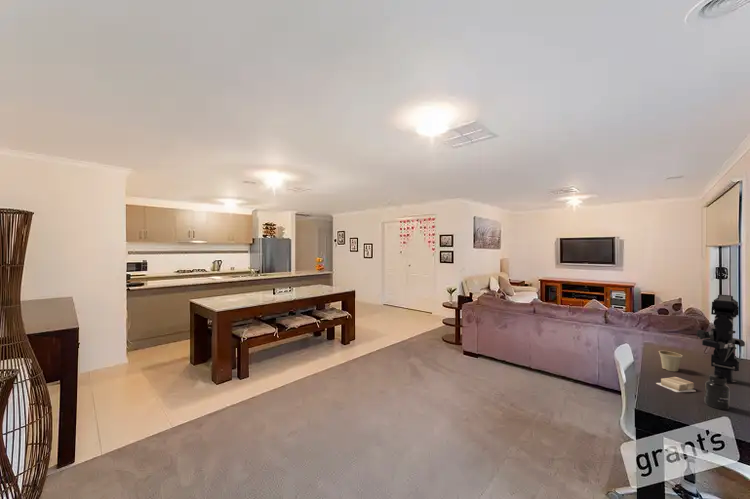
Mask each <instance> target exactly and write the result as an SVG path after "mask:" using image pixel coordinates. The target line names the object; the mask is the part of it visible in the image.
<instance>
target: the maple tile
mask: <svg viewBox="0 0 750 499" xmlns="http://www.w3.org/2000/svg"><path fill="white" fill-rule="evenodd" d="M660 383H661V384H662V385H665V386H667V387H670V388H673V389H676V390H679V391H680V390H686V389H693V390H694V388H695V383H694V382H692V381H689V380H687V379H684V378H681V377H677V376H671V377H664V378H663V377H662V378H660Z"/></svg>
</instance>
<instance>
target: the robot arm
mask: <svg viewBox="0 0 750 499" xmlns="http://www.w3.org/2000/svg"><path fill="white" fill-rule="evenodd" d="M739 309H740V308H739V302H738V301H737V300H736V299H734V296H733V295H731V294H730V295H729V294H717V298H715V299H713V301H711V312H710V313H711V314H710V315H714V320H713V323H712V324H713V326H714V327H713V328H711V329H710V331H705V330H704V329H698V330H697V331H696V336H697V337H698V338H699V340H701V345H702V346H705V347H709V348H714V349H713V353H712V354H711V356H710V357H711V358H710V361H711V363H710V367H714V370H713V371H714V373H713V375H717V376H721V377H724V378H726V382H727V383H726V384H734V383H735V384H736V383H737V384H738V382H737V381H736V380H734V372H739V371H740V361H738V359H737V357H736V358H735V355H736V354H735V352H734V351H735V350H736V349H737V347H736V346H733V345H737V346H739V347H746V346H745V345H746V344H745V343H746V341H744V339H740V338H735V337H734V334H736V330H734V319H735V318H737V317H738V316H739V313H740V312H739Z"/></svg>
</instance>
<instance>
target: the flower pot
mask: <svg viewBox="0 0 750 499" xmlns="http://www.w3.org/2000/svg"><path fill="white" fill-rule="evenodd" d="M658 353H659V356H660V362H661V369H663V370H666V371H668V372H678V371H679V367H680V363H681V360H682V358H683V356H684V355H682V354H680V353H677V352H673V351H668V350H658Z"/></svg>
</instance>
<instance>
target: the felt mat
mask: <svg viewBox="0 0 750 499" xmlns="http://www.w3.org/2000/svg"><path fill="white" fill-rule="evenodd" d="M655 384H656V385H658V386H659V387H660V386H661V387H663V388H665V389H668V390H669V391H673V392H675V393H691V392H693V393H694V392H697V391H696V389H694V388H693V389H686V390H680V391H679V390H676V389H673V388H670V387H667V386H665V385H662V384H661V382H655Z"/></svg>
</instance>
